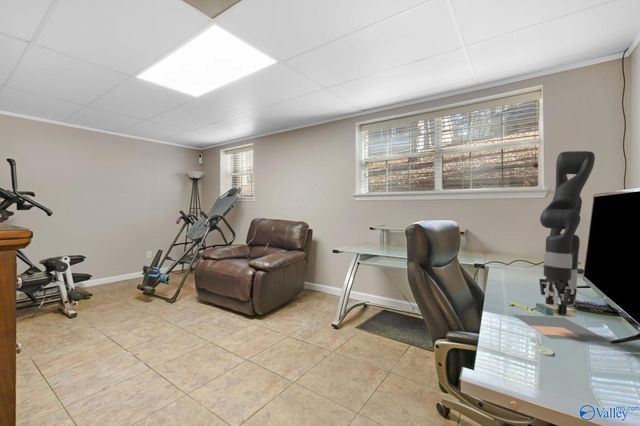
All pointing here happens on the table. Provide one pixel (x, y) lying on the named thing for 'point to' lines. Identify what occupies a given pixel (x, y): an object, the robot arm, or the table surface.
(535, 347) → the sign
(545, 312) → the tile
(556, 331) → the mat
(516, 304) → the key
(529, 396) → the table surface
